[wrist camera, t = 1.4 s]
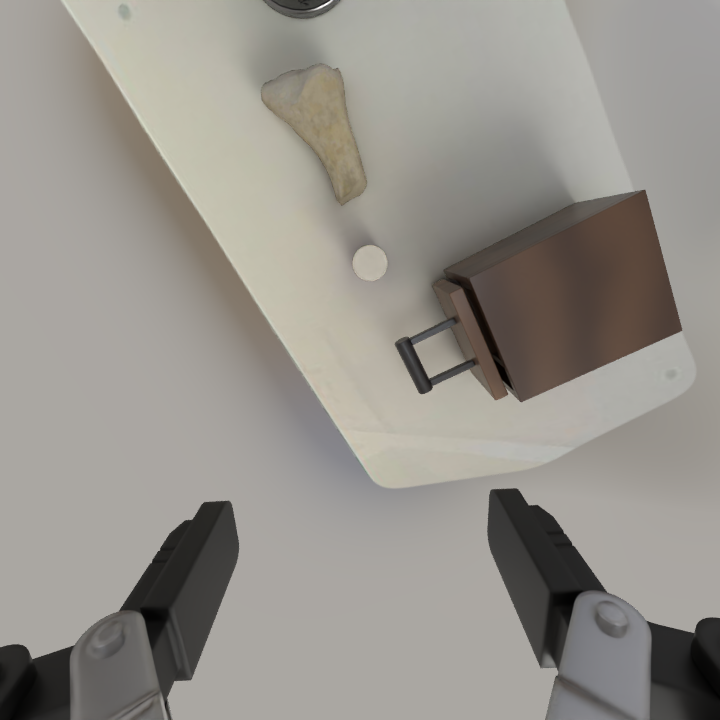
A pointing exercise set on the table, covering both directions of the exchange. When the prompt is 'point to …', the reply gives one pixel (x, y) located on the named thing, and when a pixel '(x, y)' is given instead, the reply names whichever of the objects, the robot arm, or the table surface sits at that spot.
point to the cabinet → (572, 292)
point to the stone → (320, 122)
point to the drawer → (469, 337)
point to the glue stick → (369, 262)
